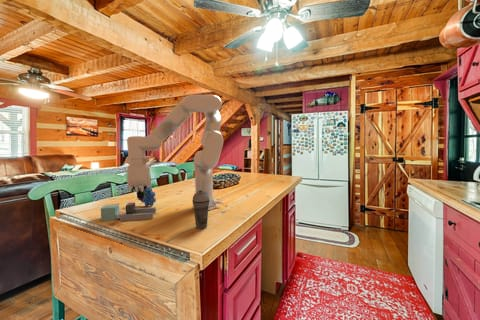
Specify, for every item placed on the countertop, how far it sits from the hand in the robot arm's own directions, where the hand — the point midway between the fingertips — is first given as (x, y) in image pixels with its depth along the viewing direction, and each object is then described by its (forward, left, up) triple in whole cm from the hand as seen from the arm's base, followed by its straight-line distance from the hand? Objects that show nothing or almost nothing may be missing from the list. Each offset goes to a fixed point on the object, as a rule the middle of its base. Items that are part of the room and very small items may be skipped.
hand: (141, 199), depth 111 cm
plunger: (+7, 0, -8) cm, 11 cm away
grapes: (+1, -18, -9) cm, 20 cm away
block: (+14, 0, -9) cm, 16 cm away
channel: (+1, 0, -8) cm, 8 cm away
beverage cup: (-28, +21, -9) cm, 36 cm away
